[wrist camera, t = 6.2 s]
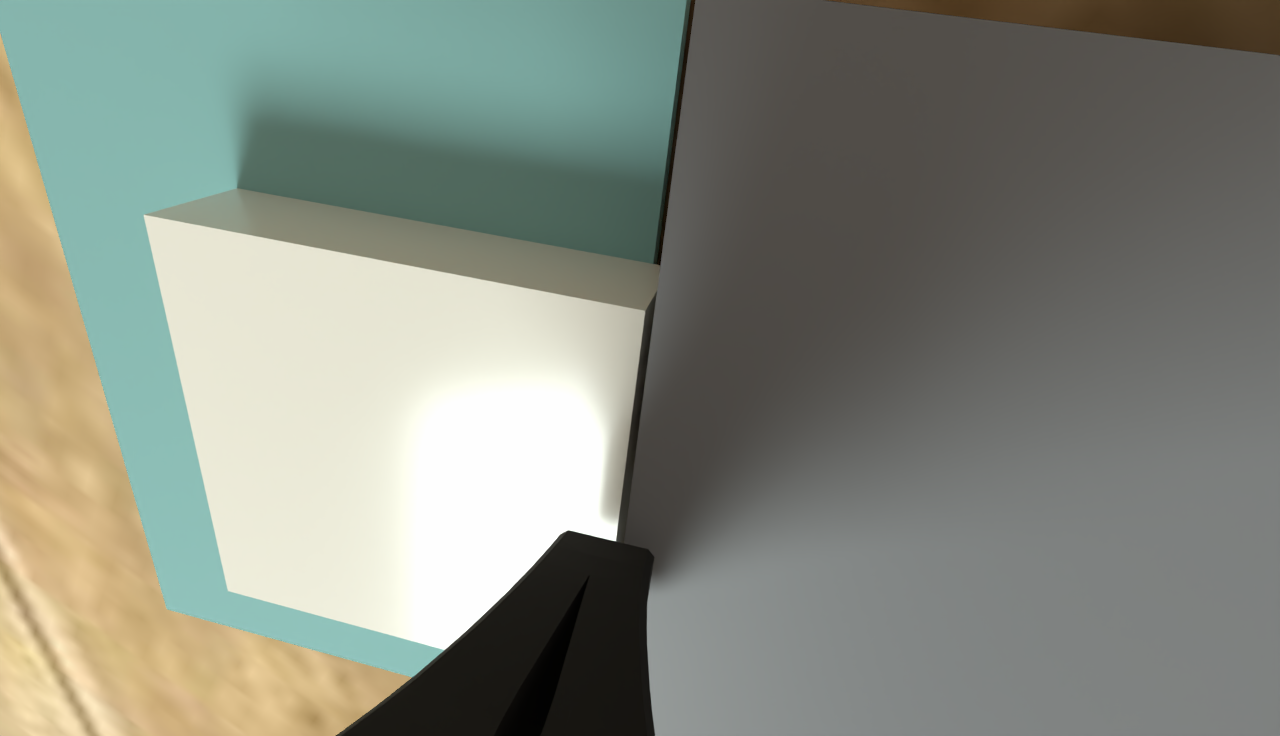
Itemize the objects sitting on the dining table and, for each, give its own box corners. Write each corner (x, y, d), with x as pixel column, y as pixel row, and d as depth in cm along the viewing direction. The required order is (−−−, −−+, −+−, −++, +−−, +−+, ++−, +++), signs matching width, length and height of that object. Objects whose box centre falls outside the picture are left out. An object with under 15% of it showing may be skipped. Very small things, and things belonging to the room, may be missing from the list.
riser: (1131, 859, 16) (1197, 1028, 13) (618, 719, 17) (584, 843, 15) (1726, 118, 8) (2164, 161, 6) (726, -4, 10) (696, -15, 7)
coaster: (620, 613, 15) (596, 690, 13) (290, 529, 16) (228, 590, 14) (670, 266, 11) (645, 311, 10) (236, 188, 12) (143, 215, 11)
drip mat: (598, 713, 17) (594, 727, 17) (178, 598, 19) (166, 609, 19) (692, -8, 10) (687, -9, 10) (-12, -94, 12) (-38, -98, 11)
